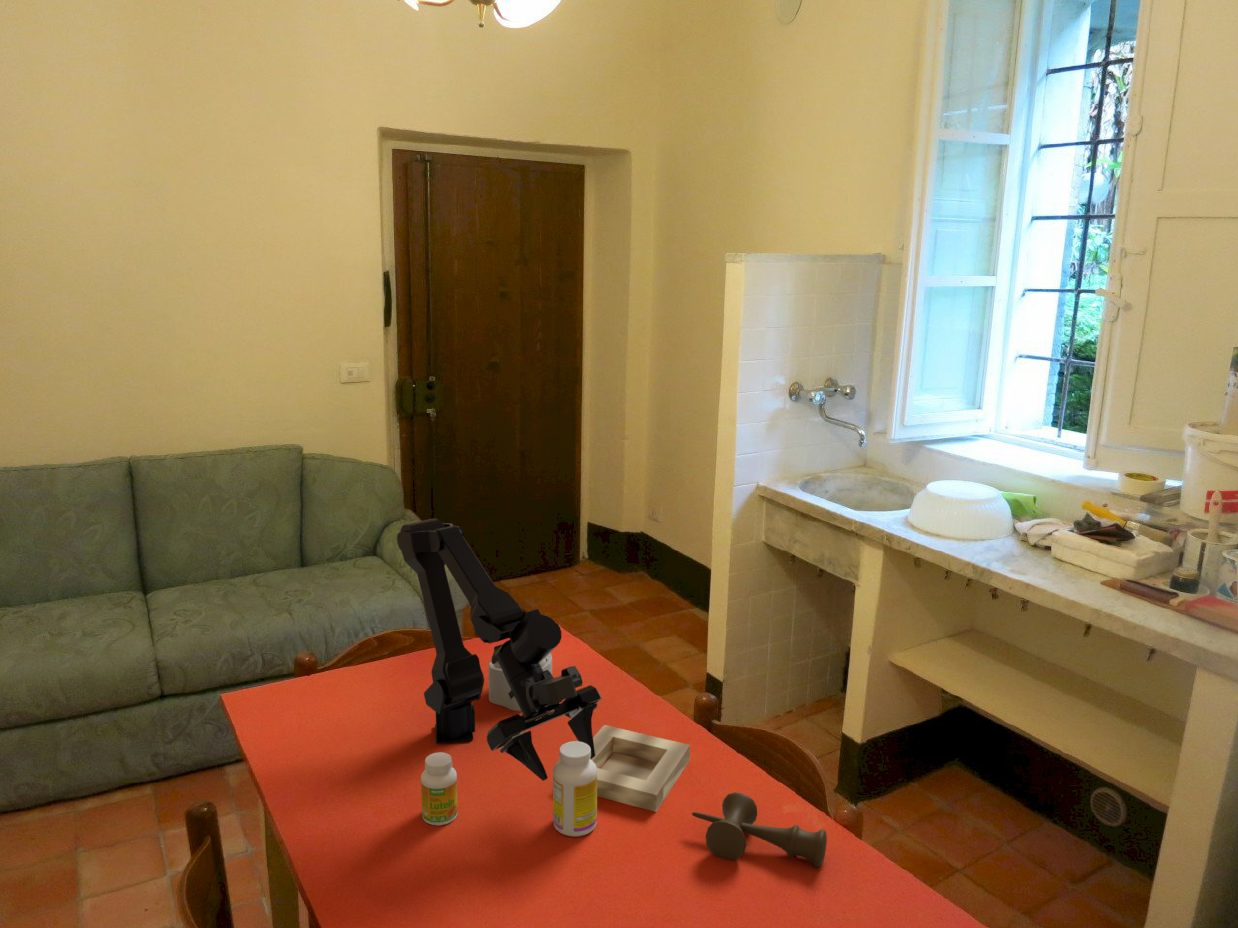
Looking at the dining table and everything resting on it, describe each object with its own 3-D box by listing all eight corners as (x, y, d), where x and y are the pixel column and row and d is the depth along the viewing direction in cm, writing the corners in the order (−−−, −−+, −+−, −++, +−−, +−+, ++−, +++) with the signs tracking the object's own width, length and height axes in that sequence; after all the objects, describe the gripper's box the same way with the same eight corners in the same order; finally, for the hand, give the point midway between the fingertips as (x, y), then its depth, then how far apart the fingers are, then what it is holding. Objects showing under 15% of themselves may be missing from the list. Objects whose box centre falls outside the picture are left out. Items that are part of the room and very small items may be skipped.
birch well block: (564, 787, 151) (564, 770, 150) (604, 739, 165) (604, 724, 164) (656, 811, 145) (656, 794, 144) (689, 760, 159) (690, 744, 158)
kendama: (818, 887, 129) (681, 849, 136) (828, 848, 138) (699, 813, 145) (822, 850, 128) (683, 812, 135) (832, 812, 137) (702, 779, 143)
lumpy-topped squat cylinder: (481, 699, 179) (480, 657, 177) (523, 673, 189) (523, 634, 187) (524, 714, 173) (523, 672, 171) (565, 687, 184) (565, 647, 182)
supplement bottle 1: (427, 830, 139) (425, 772, 137) (418, 810, 144) (415, 754, 141) (462, 820, 142) (461, 763, 139) (451, 801, 146) (450, 746, 144)
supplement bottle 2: (603, 817, 143) (604, 742, 140) (587, 842, 137) (588, 764, 134) (562, 807, 145) (563, 733, 142) (545, 832, 139) (545, 755, 136)
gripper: (496, 672, 134) (543, 772, 128) (594, 637, 146) (641, 728, 141) (467, 702, 141) (510, 798, 136) (563, 666, 154) (606, 753, 148)
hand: (569, 768), depth 140 cm, fingers open, 9 cm apart
